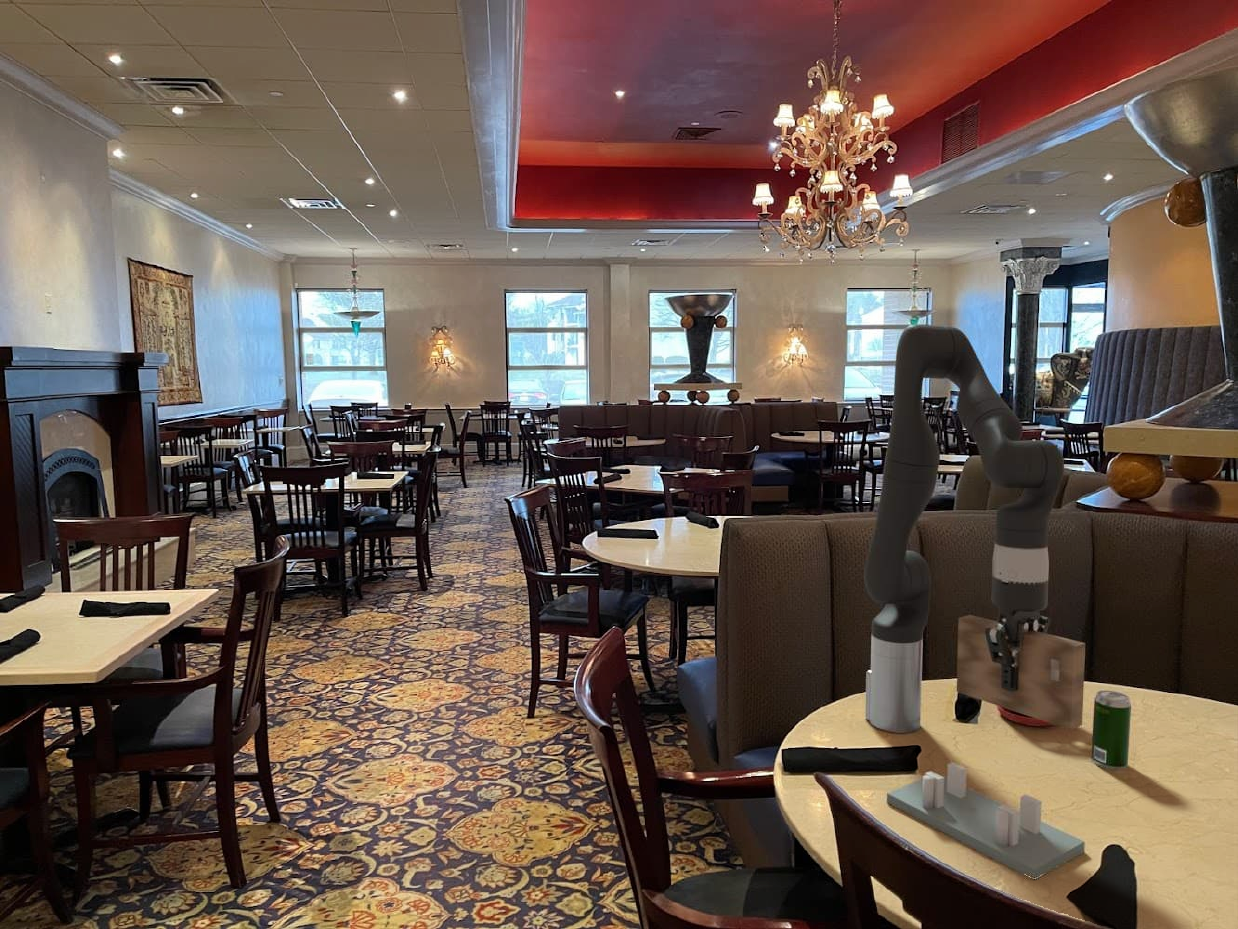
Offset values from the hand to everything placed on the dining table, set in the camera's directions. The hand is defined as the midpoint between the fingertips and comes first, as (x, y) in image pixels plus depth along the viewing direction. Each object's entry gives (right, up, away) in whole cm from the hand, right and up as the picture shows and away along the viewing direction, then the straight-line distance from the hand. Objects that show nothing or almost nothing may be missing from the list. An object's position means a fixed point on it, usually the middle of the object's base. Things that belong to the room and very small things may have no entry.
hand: (1016, 686), depth 124 cm
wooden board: (0, -3, 0) cm, 3 cm away
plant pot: (+20, -16, +36) cm, 44 cm away
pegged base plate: (-7, -20, -2) cm, 21 cm away
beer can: (+24, -18, +17) cm, 34 cm away
